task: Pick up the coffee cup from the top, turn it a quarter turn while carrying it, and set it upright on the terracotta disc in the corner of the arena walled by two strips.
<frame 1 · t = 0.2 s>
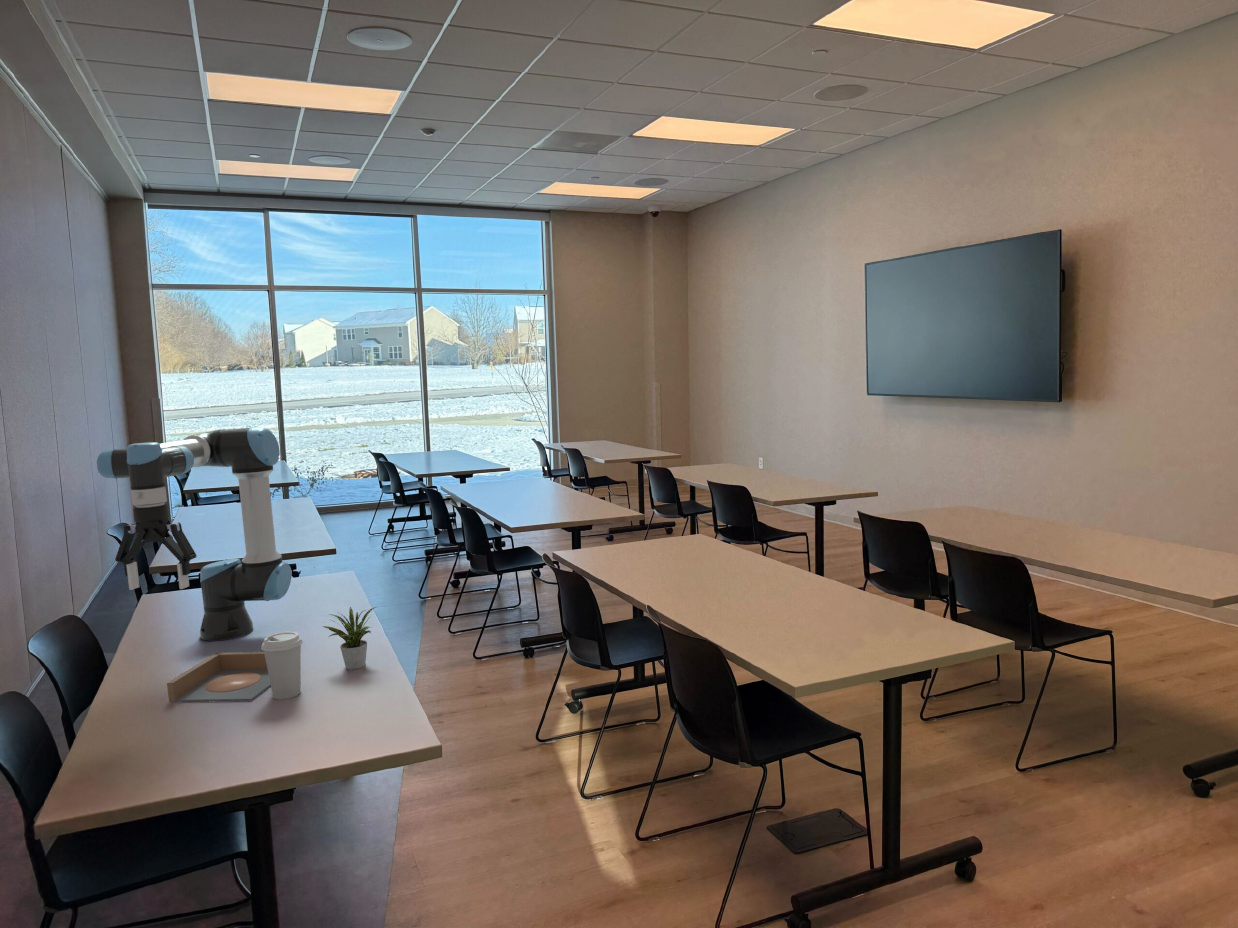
hand: (159, 588, 205), 28 cm above the table, tool pointing down, fingers open, 13 cm apart
arena: (235, 685, 212), on the table
coffee cup: (286, 695, 205), on the table
house plant: (358, 664, 224), on the table
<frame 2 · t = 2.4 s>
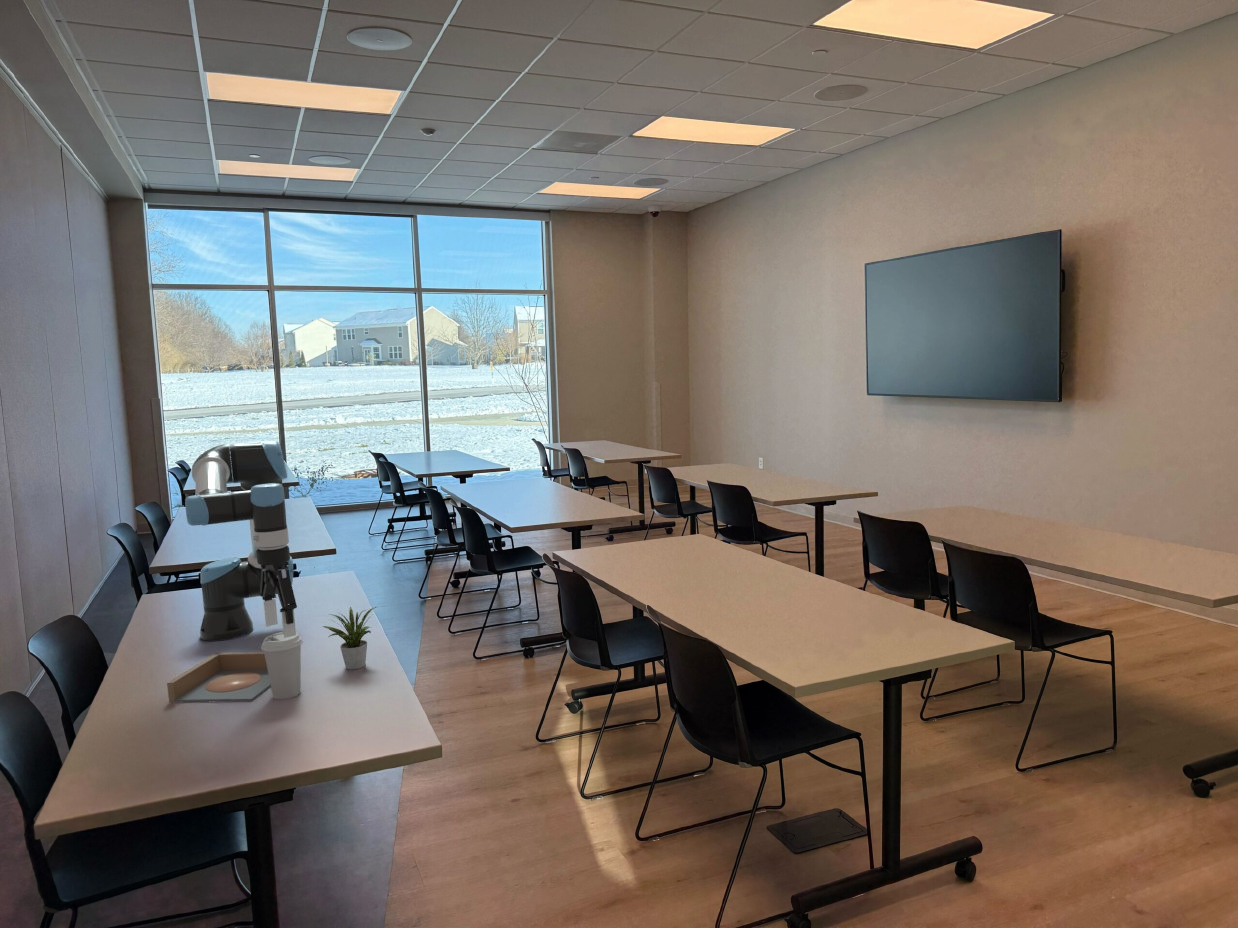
hand: (280, 630, 203), 17 cm above the table, tool pointing down, fingers open, 13 cm apart
nothing on the table moved.
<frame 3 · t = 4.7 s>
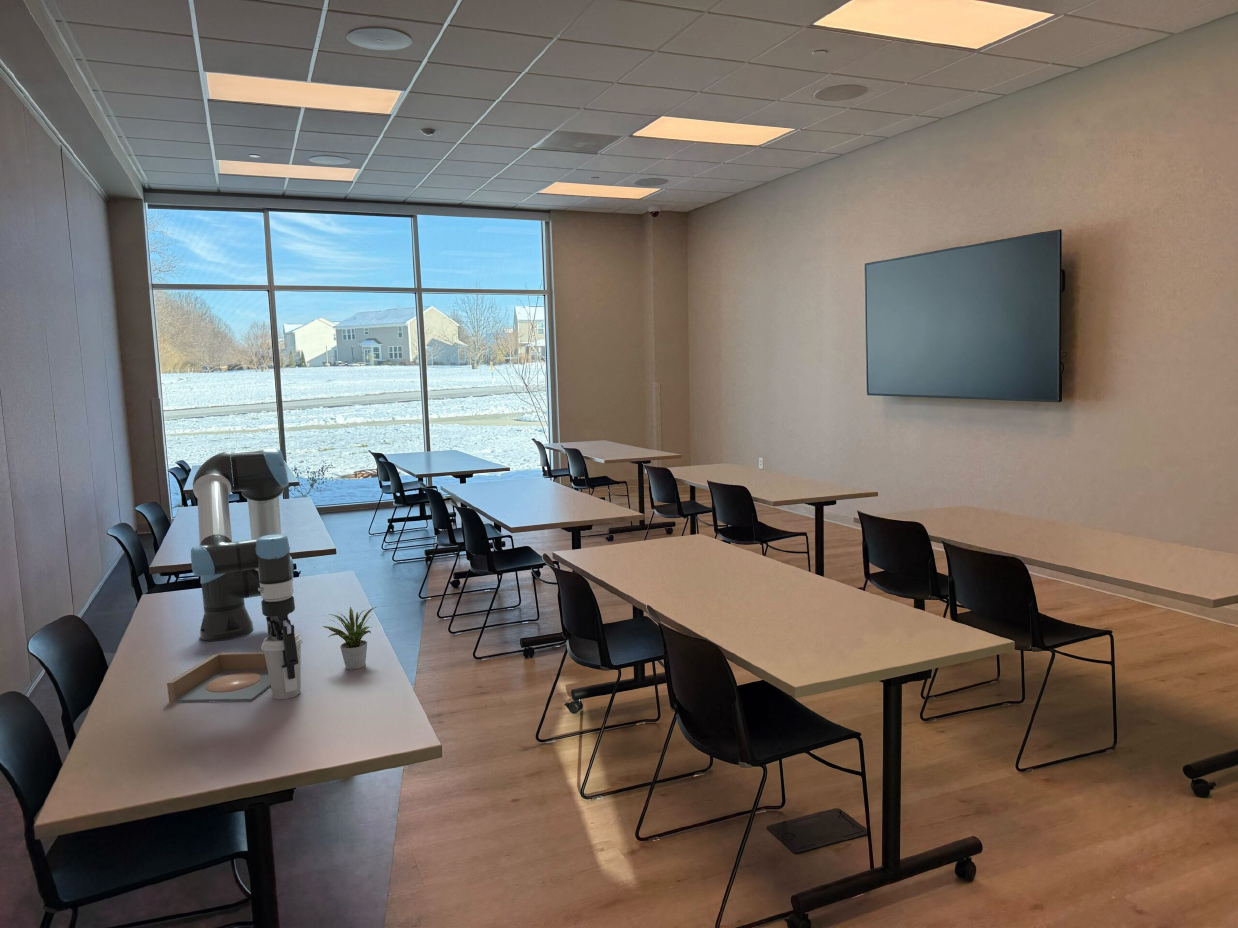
hand: (286, 686, 205), 2 cm above the table, tool pointing down, fingers closed on coffee cup, 7 cm apart
coffee cup: (286, 695, 205), on the table, touching gripper
everything else where it was.
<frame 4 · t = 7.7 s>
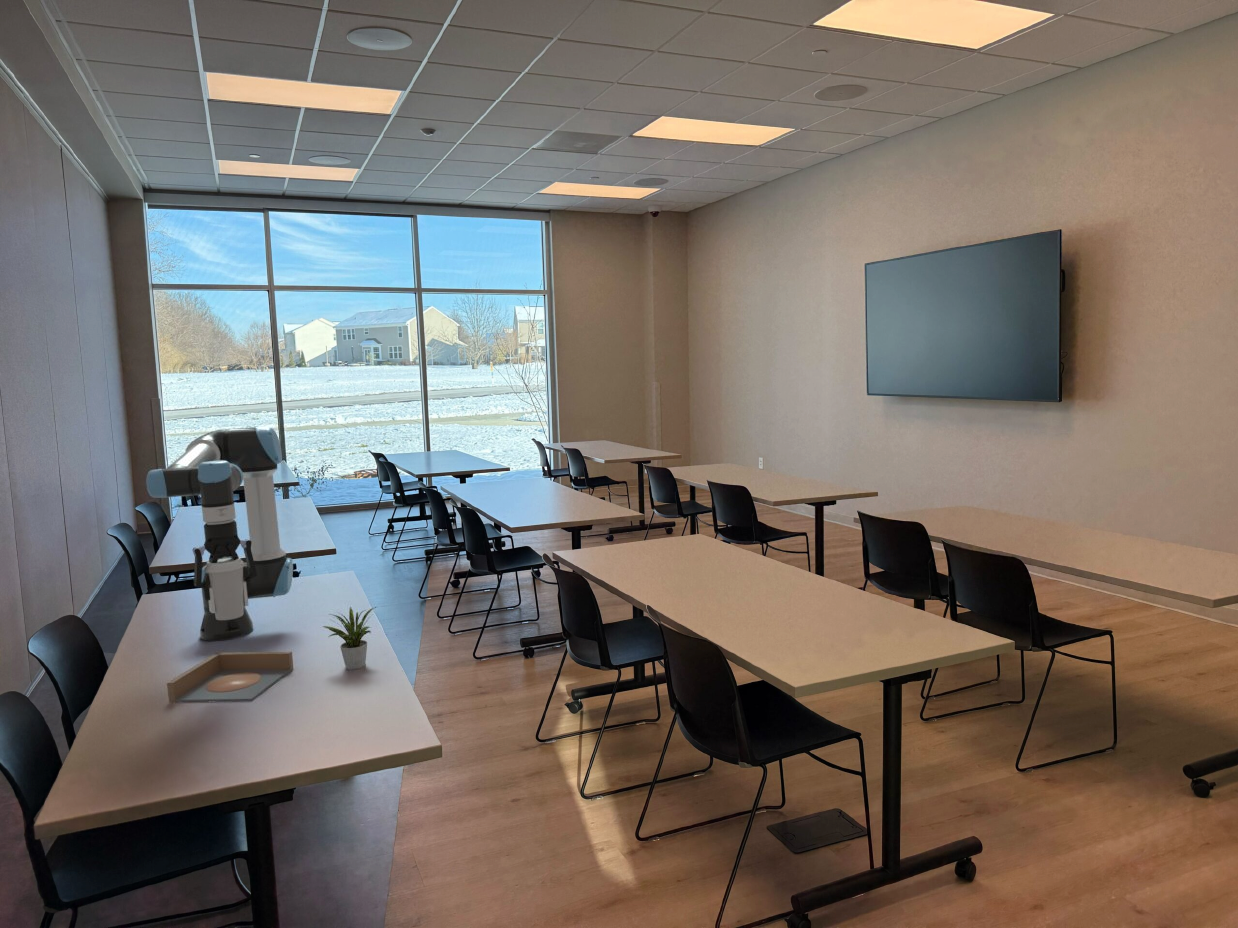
hand: (229, 608, 211), 21 cm above the table, tool pointing down, fingers closed on coffee cup, 7 cm apart
coffee cup: (229, 617, 211), point 18 cm above the table, touching gripper
everything else where it was.
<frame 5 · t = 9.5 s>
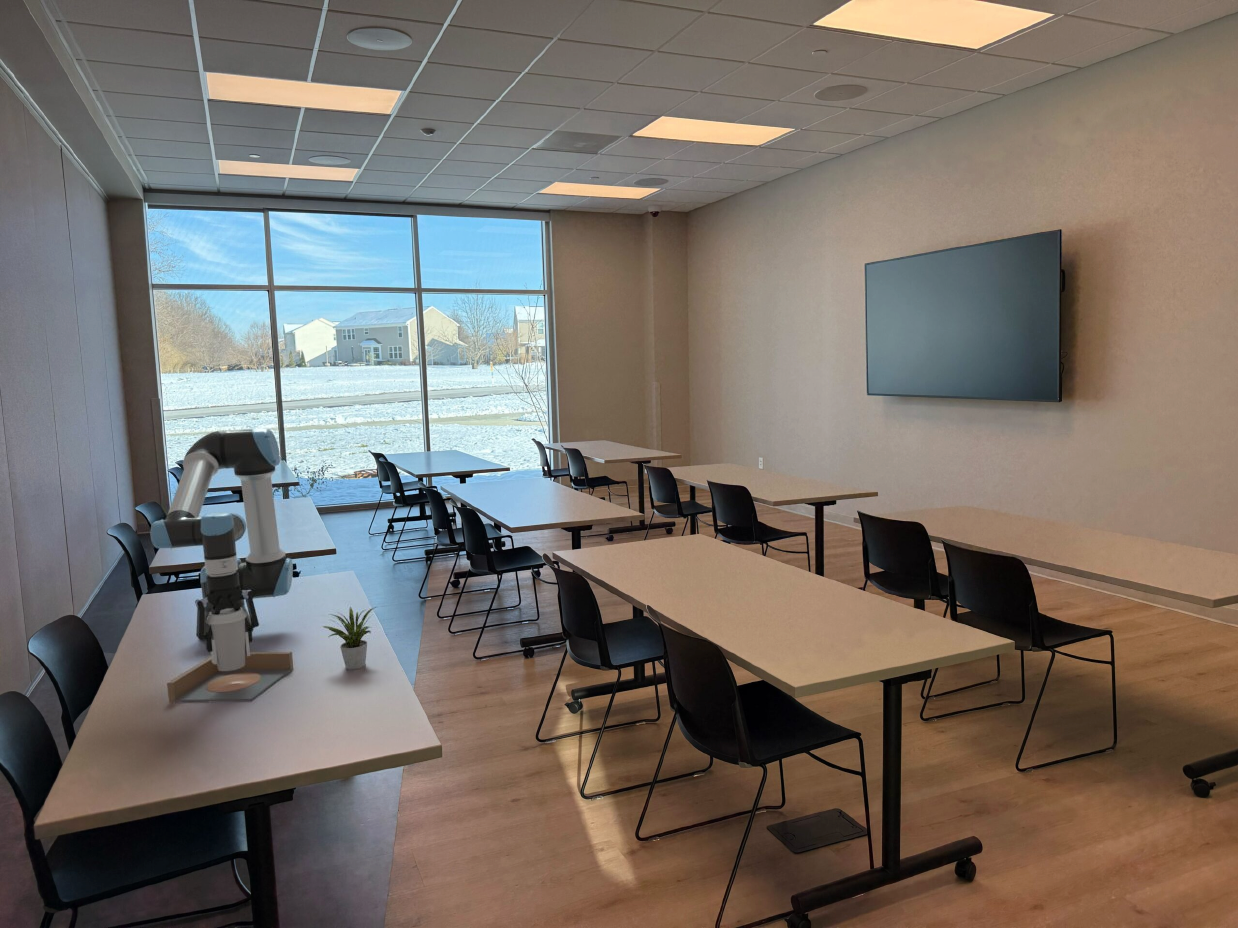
hand: (231, 658, 212), 7 cm above the table, tool pointing down, fingers closed on coffee cup, 7 cm apart
coffee cup: (231, 667, 213), point 5 cm above the table, touching gripper
everything else where it was.
when the fingers open (3 cm above the table, at t = 11.0 s): coffee cup stays where it is, resting on arena.
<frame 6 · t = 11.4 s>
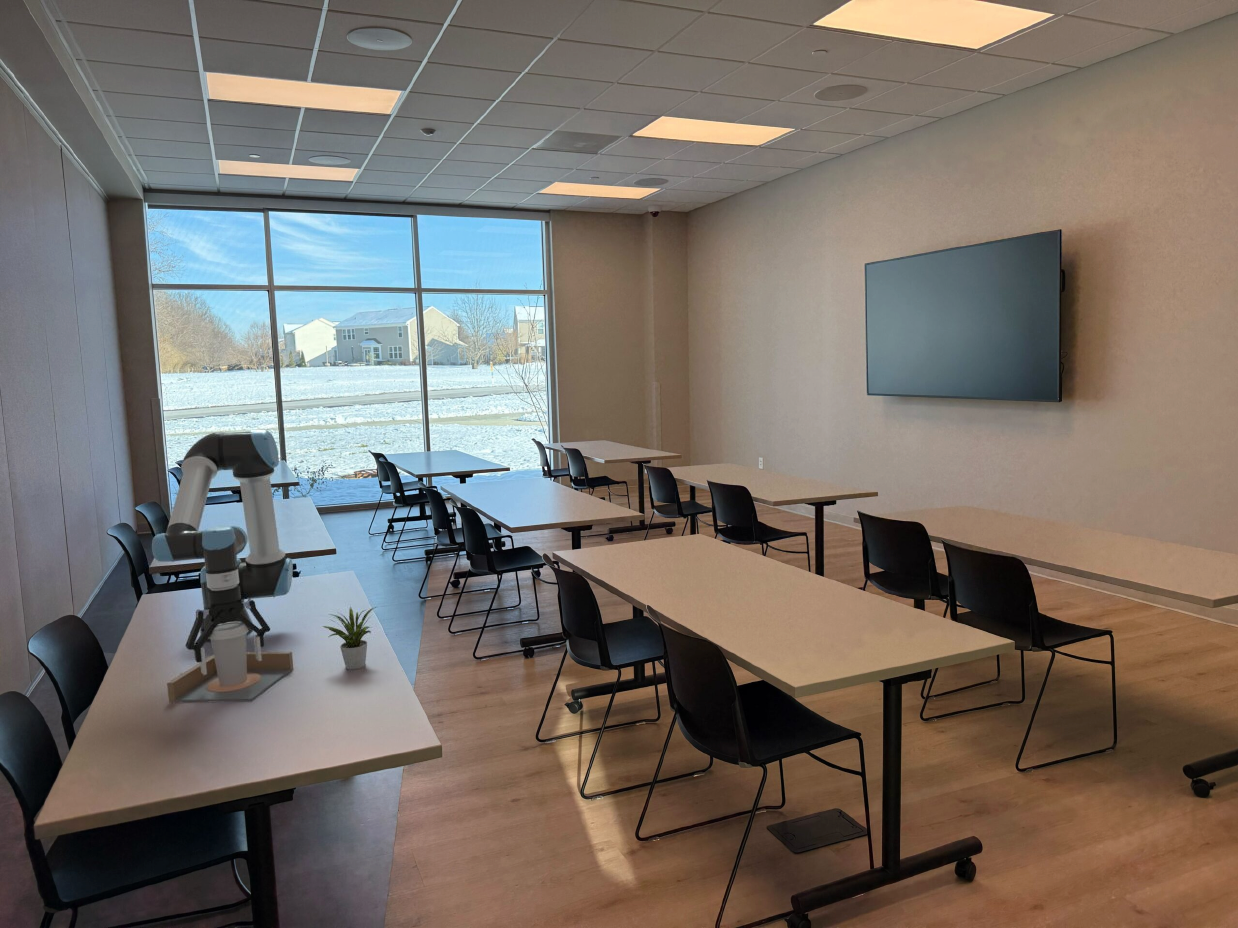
hand: (232, 666, 213), 5 cm above the table, tool pointing down, fingers open, 13 cm apart
coffee cup: (233, 682, 213), point 1 cm above the table, touching arena
everything else where it was.
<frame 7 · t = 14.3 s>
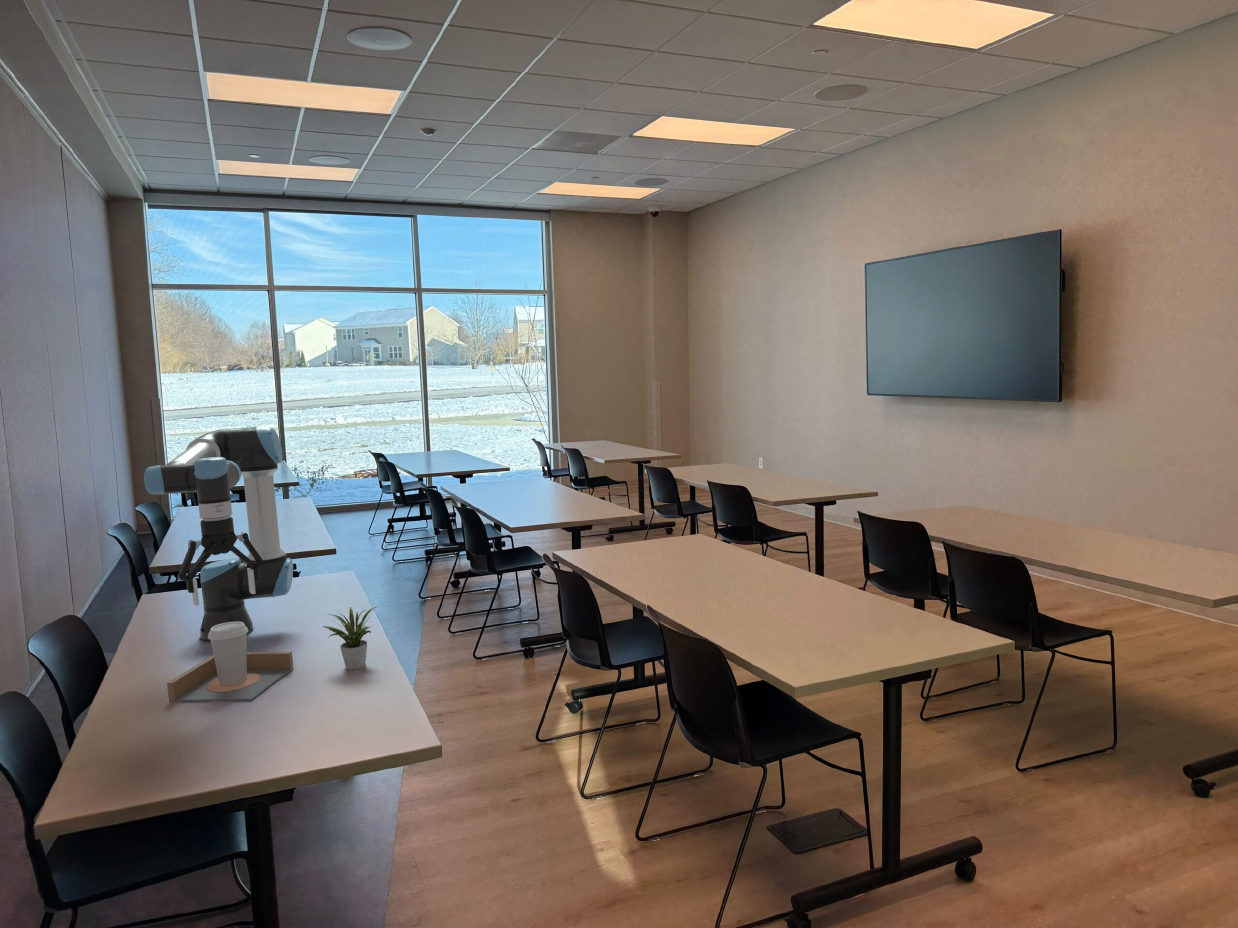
hand: (225, 598, 211), 23 cm above the table, tool pointing down, fingers open, 13 cm apart
nothing on the table moved.
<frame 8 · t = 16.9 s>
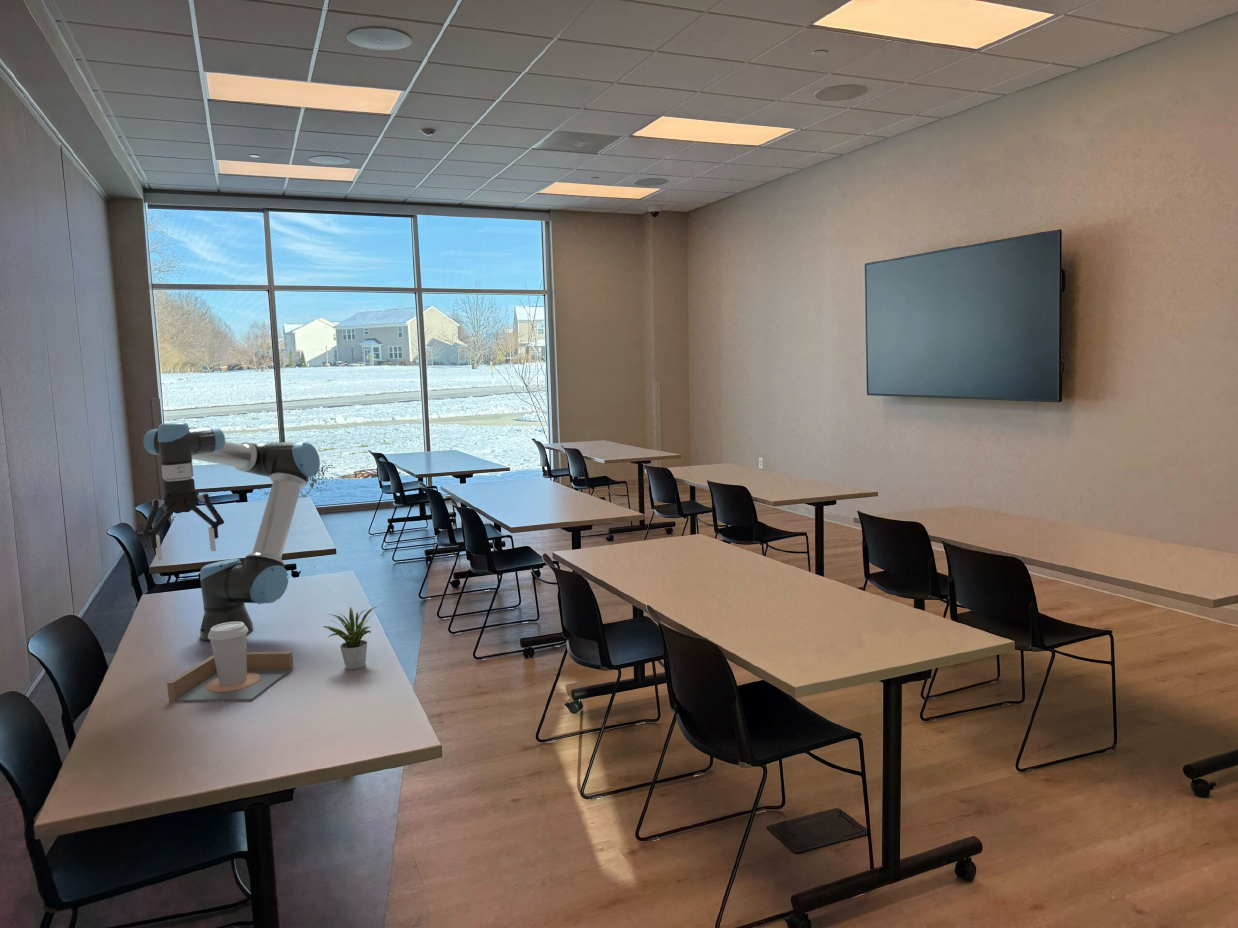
hand: (186, 554, 226), 32 cm above the table, tool pointing down, fingers open, 13 cm apart
nothing on the table moved.
at the end: coffee cup inside the target area on the arena (0.1 cm from its centre), point 0.6 cm above the arena's base; coffee cup tilted 0°; the gripper is holding nothing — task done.
